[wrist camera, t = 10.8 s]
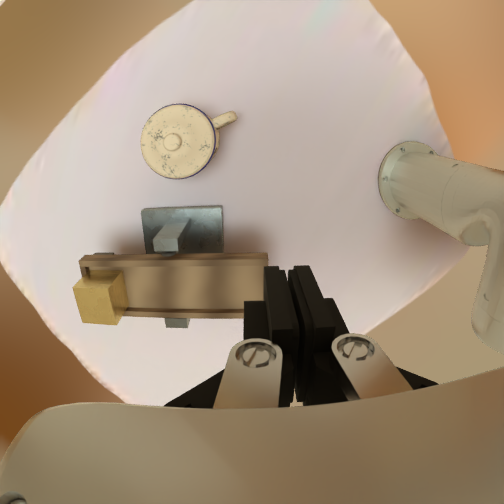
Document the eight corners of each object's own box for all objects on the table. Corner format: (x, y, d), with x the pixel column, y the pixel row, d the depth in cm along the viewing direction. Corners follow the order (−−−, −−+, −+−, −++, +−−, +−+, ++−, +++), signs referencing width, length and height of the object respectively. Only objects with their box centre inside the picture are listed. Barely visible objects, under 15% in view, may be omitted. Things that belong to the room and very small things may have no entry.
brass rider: (122, 270, 37) (107, 288, 33) (129, 304, 39) (116, 325, 35) (89, 270, 37) (72, 287, 33) (97, 303, 39) (82, 322, 35)
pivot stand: (221, 205, 46) (214, 227, 36) (226, 295, 51) (221, 335, 41) (144, 208, 46) (117, 230, 35) (155, 295, 51) (137, 333, 41)
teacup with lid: (176, 181, 44) (154, 197, 33) (149, 127, 41) (118, 127, 30) (250, 145, 43) (252, 149, 32) (223, 89, 40) (215, 74, 29)
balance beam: (266, 245, 40) (268, 257, 36) (265, 303, 43) (267, 319, 39) (91, 248, 39) (78, 259, 36) (102, 301, 43) (92, 315, 39)
